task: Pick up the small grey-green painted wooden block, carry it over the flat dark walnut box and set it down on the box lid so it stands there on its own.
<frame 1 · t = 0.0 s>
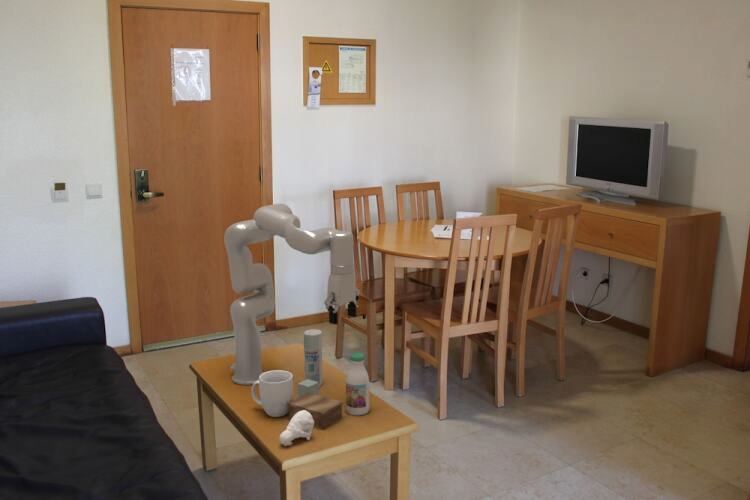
hand: (342, 319, 238), 31 cm above the table, tool pointing down, fingers open, 9 cm apart
milk bottle: (357, 411, 242), on the table
walnut box: (315, 419, 237), on the table
spray can: (313, 384, 265), on the table
white animal figurine: (295, 441, 222), on the table
mug: (274, 413, 242), on the table
block: (308, 399, 252), on the table
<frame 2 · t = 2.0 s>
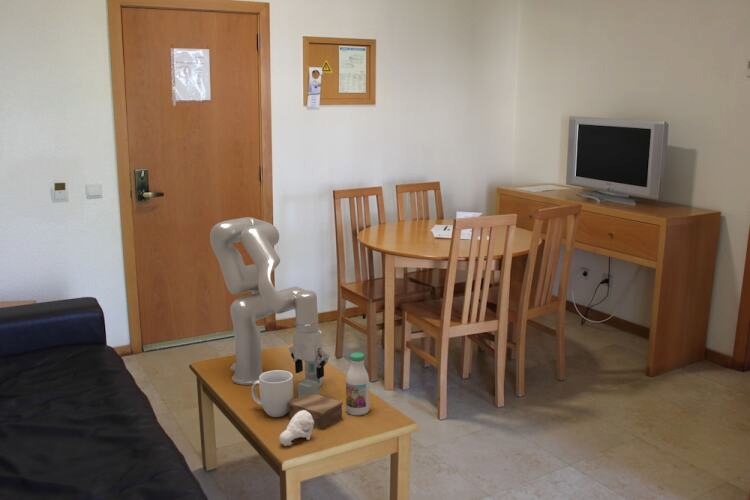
hand: (309, 374, 250), 9 cm above the table, tool pointing down, fingers open, 9 cm apart
nothing on the table moved.
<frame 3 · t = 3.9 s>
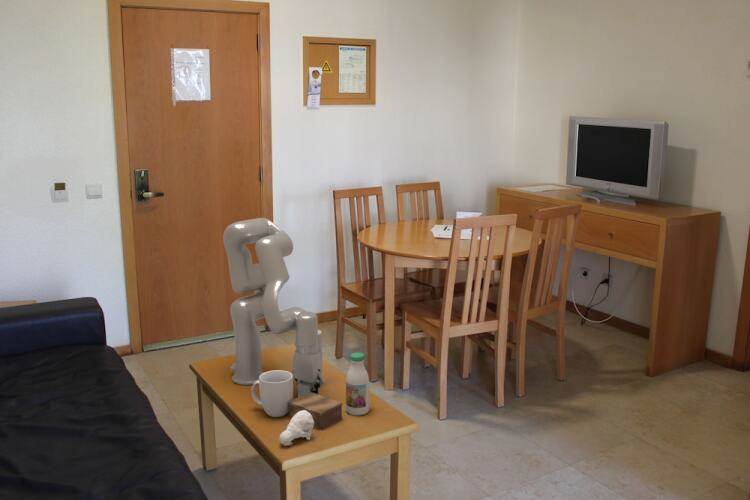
hand: (308, 397, 252), 1 cm above the table, tool pointing down, fingers closed on block, 5 cm apart
block: (308, 399, 252), on the table, touching gripper
everything else where it was.
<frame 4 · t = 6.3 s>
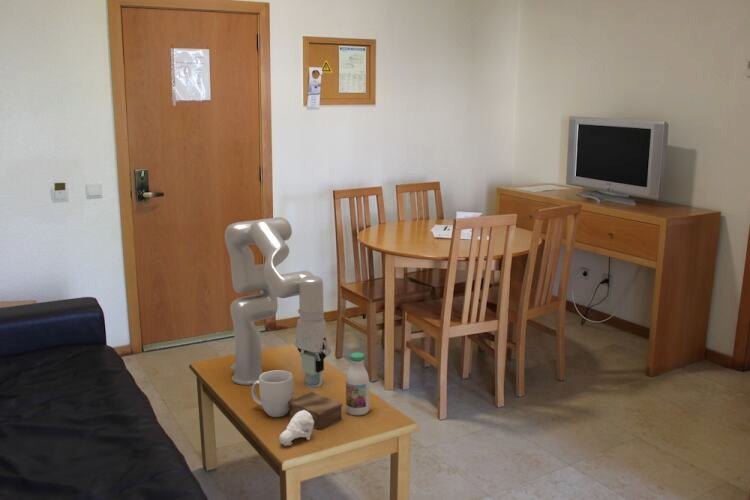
hand: (313, 368, 233), 17 cm above the table, tool pointing down, fingers closed on block, 5 cm apart
block: (313, 370, 233), point 17 cm above the table, touching gripper
everything else where it was.
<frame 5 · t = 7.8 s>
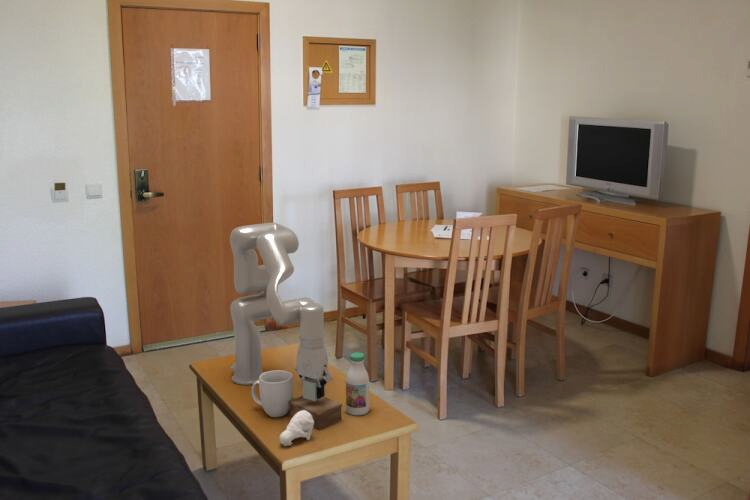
hand: (313, 394, 235), 8 cm above the table, tool pointing down, fingers closed on block, 5 cm apart
block: (313, 396, 235), point 8 cm above the table, touching gripper
everything else where it was.
when the fingers open (7 cm above the table, at t = 8.8 s): block stays where it is, resting on walnut box.
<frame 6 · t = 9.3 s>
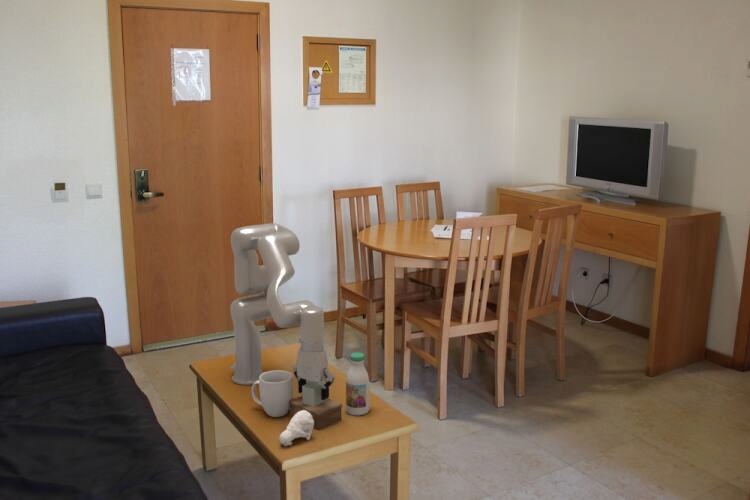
hand: (313, 395, 235), 8 cm above the table, tool pointing down, fingers open, 9 cm apart
walnut box: (315, 419, 237), on the table, touching block
block: (313, 402, 236), point 6 cm above the table, touching walnut box
everything else where it was.
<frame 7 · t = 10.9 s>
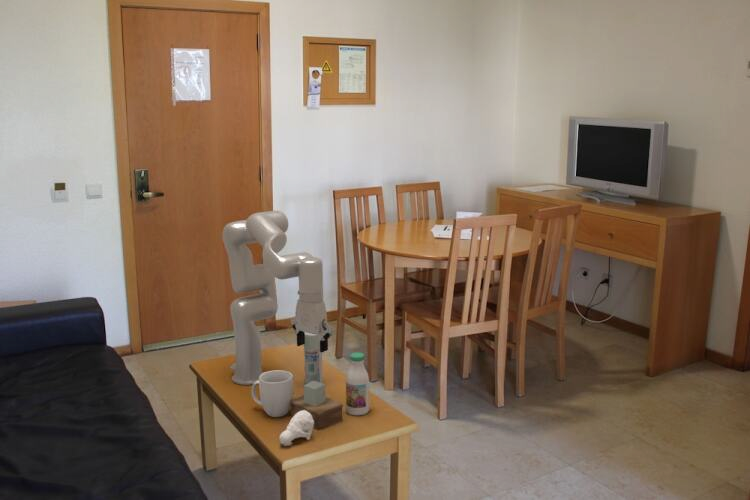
hand: (312, 348, 232), 24 cm above the table, tool pointing down, fingers open, 9 cm apart
walnut box: (316, 419, 237), on the table
block: (314, 402, 236), point 6 cm above the table
everything else where it was.
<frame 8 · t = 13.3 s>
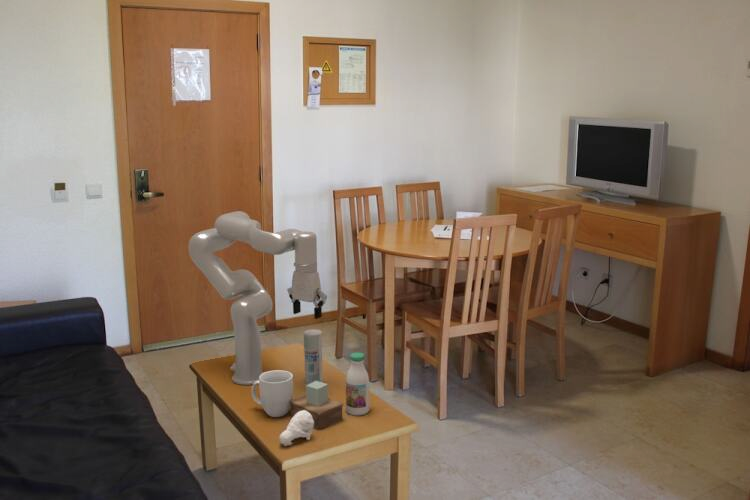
hand: (307, 315, 253), 28 cm above the table, tool pointing down, fingers open, 9 cm apart
nothing on the table moved.
at the end: block inside the target area on the walnut box (0.4 cm from its centre), point 6.0 cm above the walnut box's base; block touching walnut box; the gripper is holding nothing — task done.
